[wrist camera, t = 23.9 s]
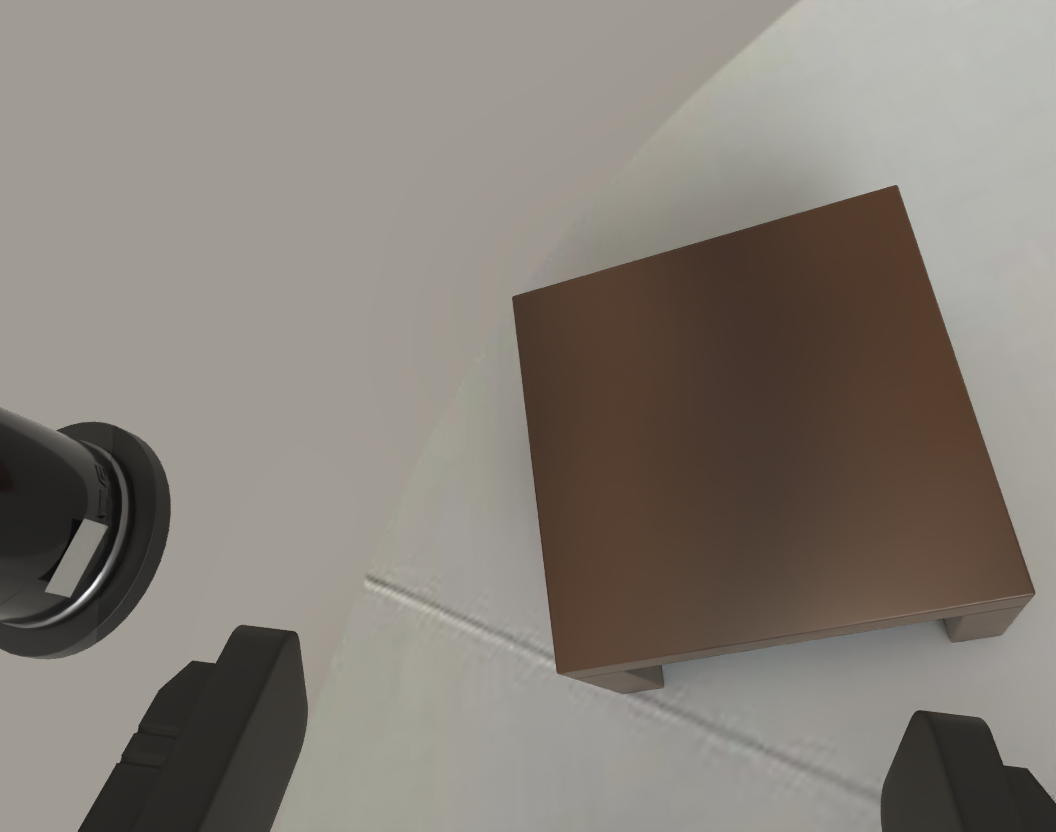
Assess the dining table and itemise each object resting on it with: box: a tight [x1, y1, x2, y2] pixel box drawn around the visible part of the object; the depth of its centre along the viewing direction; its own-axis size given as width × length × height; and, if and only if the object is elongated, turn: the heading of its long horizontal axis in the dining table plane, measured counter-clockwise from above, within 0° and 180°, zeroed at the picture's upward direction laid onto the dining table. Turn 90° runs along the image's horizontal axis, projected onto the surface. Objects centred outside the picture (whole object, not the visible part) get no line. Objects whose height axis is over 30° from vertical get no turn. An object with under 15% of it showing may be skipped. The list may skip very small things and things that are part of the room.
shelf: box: [512, 185, 1035, 694], centre depth 29 cm, size 12×12×7 cm
